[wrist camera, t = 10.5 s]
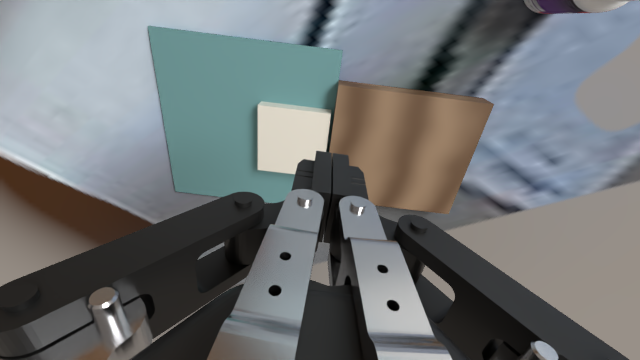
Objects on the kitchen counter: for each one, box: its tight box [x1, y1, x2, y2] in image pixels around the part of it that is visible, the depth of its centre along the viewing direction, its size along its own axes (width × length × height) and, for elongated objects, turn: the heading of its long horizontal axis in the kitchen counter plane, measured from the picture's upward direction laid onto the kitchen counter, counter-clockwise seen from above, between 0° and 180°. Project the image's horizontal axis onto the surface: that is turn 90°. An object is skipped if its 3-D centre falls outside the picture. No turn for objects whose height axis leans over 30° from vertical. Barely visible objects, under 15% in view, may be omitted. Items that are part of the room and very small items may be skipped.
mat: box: [148, 26, 343, 203], centre depth 34 cm, size 20×20×1 cm
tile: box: [258, 101, 331, 174], centre depth 34 cm, size 8×8×2 cm
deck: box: [329, 80, 494, 214], centre depth 34 cm, size 16×14×2 cm
